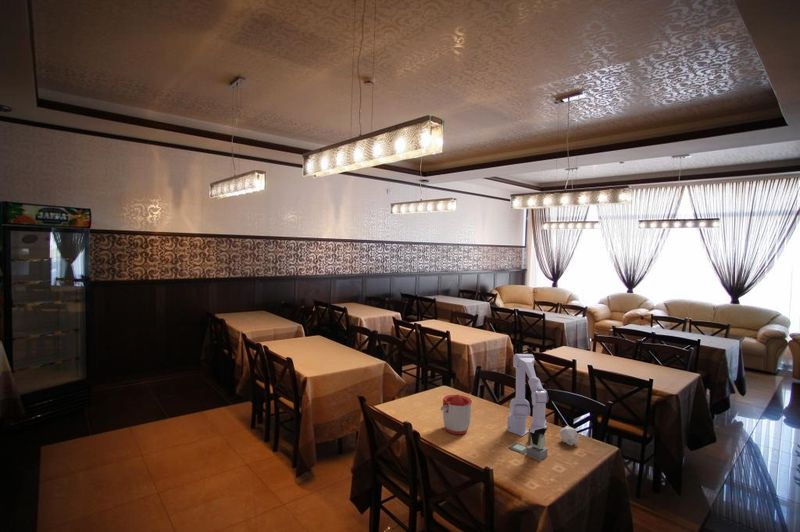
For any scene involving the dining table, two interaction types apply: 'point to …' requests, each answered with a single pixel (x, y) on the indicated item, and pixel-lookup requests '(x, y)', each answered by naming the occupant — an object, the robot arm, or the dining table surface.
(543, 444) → the sage block
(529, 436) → the walnut block
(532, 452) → the slate base
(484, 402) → the dining table surface
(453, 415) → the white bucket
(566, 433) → the grey rock
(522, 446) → the grey square plate
